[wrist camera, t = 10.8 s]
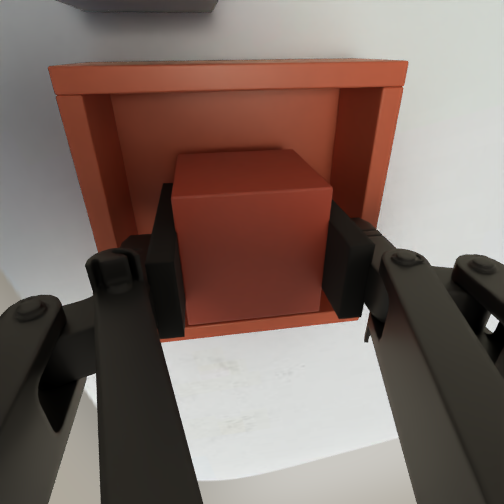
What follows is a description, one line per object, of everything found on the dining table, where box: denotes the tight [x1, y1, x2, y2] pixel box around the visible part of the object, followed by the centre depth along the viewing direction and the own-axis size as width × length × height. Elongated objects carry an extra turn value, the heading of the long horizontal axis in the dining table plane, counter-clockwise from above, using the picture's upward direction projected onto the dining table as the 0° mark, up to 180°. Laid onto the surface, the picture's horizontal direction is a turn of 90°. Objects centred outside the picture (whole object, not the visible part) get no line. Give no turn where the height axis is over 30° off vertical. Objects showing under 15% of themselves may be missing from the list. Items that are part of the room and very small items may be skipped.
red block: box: [171, 149, 333, 325], centre depth 14 cm, size 5×5×5 cm
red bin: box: [48, 58, 408, 342], centre depth 16 cm, size 12×12×5 cm
